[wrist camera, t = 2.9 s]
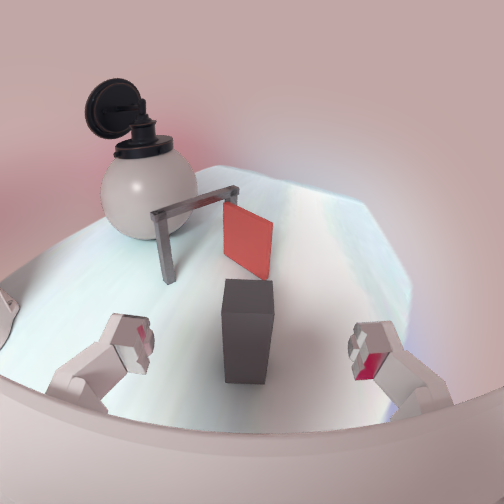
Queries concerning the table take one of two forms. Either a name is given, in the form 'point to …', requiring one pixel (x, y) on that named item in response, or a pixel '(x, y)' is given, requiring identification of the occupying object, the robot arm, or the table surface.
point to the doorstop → (247, 329)
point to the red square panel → (247, 239)
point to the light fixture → (137, 162)
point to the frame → (176, 209)
